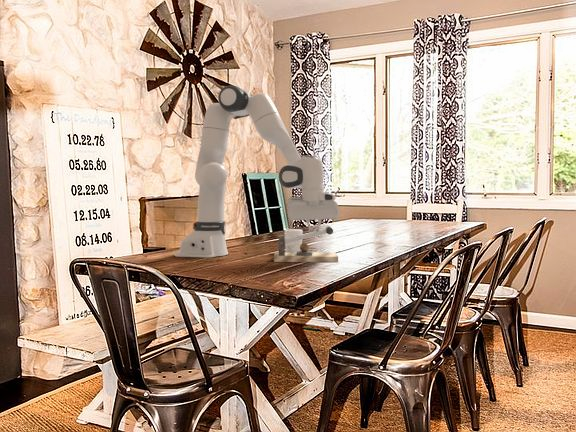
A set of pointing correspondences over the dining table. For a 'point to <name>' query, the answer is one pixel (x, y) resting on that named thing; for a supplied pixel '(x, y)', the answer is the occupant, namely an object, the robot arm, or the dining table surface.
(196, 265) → the dining table surface
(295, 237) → the lever
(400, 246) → the dining table surface
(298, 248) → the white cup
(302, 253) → the nutcracker base
